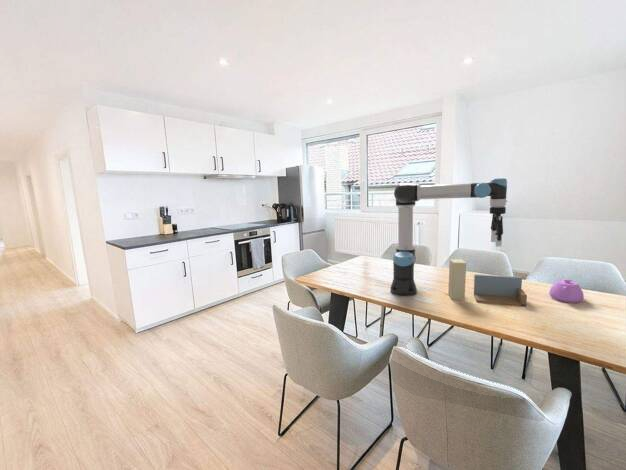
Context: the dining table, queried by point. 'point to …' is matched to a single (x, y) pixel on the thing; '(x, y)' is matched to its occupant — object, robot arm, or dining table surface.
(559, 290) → the purple dimpled dome
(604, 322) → the dining table surface
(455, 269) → the toy refrigerator
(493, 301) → the cleat board
